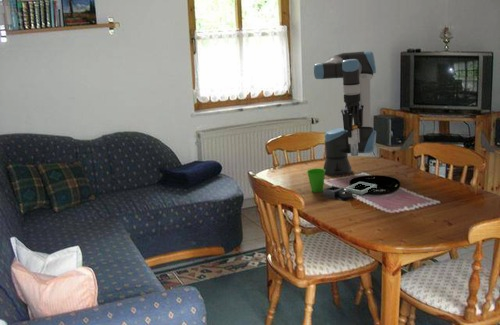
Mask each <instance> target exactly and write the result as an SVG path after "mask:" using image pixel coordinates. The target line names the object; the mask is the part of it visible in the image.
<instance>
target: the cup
mask: <svg viewBox="0 0 500 325" xmlns="http://www.w3.org/2000/svg"><path fill="white" fill-rule="evenodd" d="M306 173H307V176H308V179H309V186H310V189H311V193H321V192H322V193H323V189H324V184H325V169H323V168H321V167H319V168H318V167H317V168H310V169H308V170H306Z"/></svg>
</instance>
